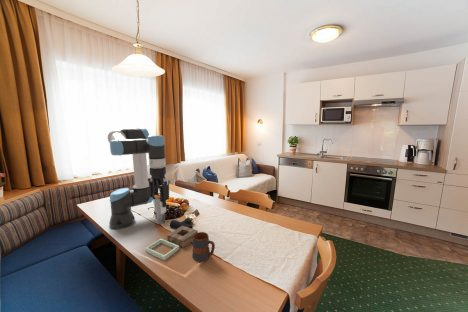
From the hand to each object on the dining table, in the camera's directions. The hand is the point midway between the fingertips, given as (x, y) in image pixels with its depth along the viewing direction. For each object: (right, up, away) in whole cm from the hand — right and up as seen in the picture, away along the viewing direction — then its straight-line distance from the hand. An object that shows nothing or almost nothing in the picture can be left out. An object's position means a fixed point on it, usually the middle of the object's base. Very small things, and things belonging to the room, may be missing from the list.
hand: (160, 211), depth 99 cm
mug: (+23, -23, -1) cm, 32 cm away
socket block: (+8, -21, +14) cm, 26 cm away
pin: (0, -6, +1) cm, 6 cm away
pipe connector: (+5, -19, +29) cm, 35 cm away
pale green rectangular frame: (0, -22, +3) cm, 23 cm away
